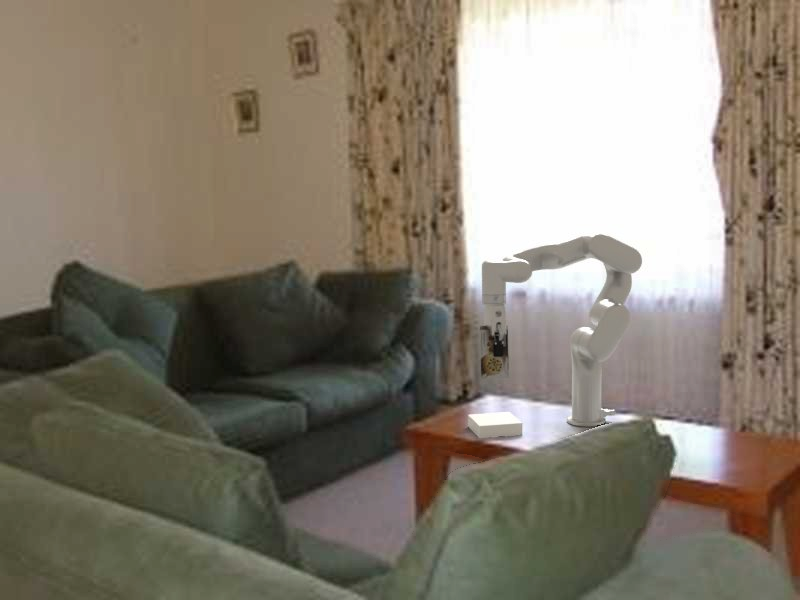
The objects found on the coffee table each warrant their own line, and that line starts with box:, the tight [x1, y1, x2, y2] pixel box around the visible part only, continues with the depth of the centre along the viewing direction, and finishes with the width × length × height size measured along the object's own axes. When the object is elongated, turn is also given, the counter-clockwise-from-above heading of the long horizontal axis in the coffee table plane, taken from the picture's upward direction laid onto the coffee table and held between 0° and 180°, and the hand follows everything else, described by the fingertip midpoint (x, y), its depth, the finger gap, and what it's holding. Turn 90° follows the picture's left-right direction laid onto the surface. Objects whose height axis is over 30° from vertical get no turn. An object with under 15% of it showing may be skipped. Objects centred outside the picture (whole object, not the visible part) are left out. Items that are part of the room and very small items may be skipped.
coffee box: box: [479, 324, 510, 380], centre depth 307 cm, size 9×6×16 cm
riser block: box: [467, 411, 523, 439], centre depth 311 cm, size 14×14×4 cm
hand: (494, 353), depth 307 cm, fingers closed on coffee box, 7 cm apart
